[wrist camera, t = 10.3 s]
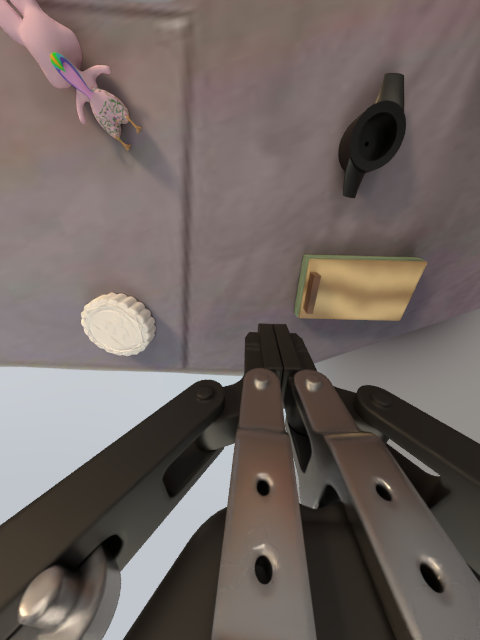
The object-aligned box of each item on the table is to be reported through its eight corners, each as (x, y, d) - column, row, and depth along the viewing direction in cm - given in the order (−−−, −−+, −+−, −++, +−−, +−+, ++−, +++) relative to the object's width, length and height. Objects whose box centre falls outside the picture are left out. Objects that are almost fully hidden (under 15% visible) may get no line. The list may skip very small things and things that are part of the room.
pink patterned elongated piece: (154, 121, 24) (5, -61, 17) (137, 104, 19) (-84, -163, 12) (127, 163, 26) (-16, 18, 19) (106, 158, 21) (-98, -42, 14)
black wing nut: (311, 156, 24) (318, 148, 21) (387, 70, 20) (407, 49, 18) (343, 205, 26) (354, 203, 24) (416, 136, 23) (438, 126, 20)
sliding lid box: (303, 254, 30) (307, 256, 28) (413, 256, 29) (424, 259, 28) (293, 311, 34) (296, 316, 33) (388, 314, 34) (396, 319, 32)
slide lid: (309, 258, 28) (314, 262, 25) (424, 261, 28) (440, 264, 25) (298, 316, 32) (302, 324, 30) (397, 319, 32) (409, 326, 30)
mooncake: (169, 324, 36) (162, 334, 33) (133, 356, 40) (124, 368, 37) (114, 278, 32) (100, 284, 29) (80, 318, 36) (65, 328, 33)
